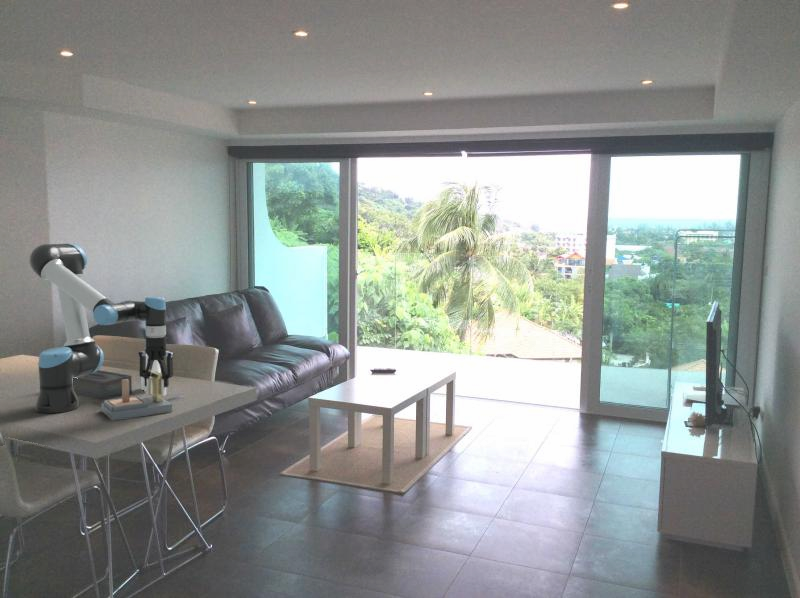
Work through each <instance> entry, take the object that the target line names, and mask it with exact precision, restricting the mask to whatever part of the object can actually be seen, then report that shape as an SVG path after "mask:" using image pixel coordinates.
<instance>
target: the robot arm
mask: <svg viewBox="0 0 800 598" xmlns="http://www.w3.org/2000/svg"><path fill="white" fill-rule="evenodd" d="M29 264H30V268H31V270H33V272H34V273H35V274H36V275H37V276H38V277H39V278H41V279H42V280H44V281H49V282H51V283H52V284H54V285H55V286H56V287H57V290H58V291H57V293H58V298H59V303H60V308H61V314H62V319H63V325H64V329H65V330H64V331H65V337H66V342H65V343H64V344H63V346H57V347H52V348H48V349H45V350H43V351H42V352H40V354H39V355H38V362H37V365H38V378H39V380H38V381H39V393H38V396H37V399H36V402H35V411H36V412H37V413H39V414H40V413H41V414H58V413H65V412H69V411H70V412H71V411H74V410H77V409H78V408H79V405H80V403H79V398H78V396H77V393H76V391H75V389H74V388H73V378H79V377H82V376H87V375H88V376H89V375H91V374H94V373H96V372H97V371H99V370H100V369H101V367H102V366H103V364H104V360H105V355H104V351H103V350H102V348H101V347H100V346H99V345H97V344H96V341H95V339H93V338H92V337H91V334H90V330H89V324H88V318H87V317H88V316H87V313H86V309H87V310H88V311H89V312H91V313H92V315H93V319H94V321H95V322H96V324H98V325H100V326H110V325H111V326H112V325H115V324H121V323H126V322H132V321H144V323H145V336H146V337H145V350H142V351H139V352H138V356H139V377H140V378H141V377H144V379H145V386H147V394H146V396H151V394H152V378H149V377H151V376H150V374H151V370H152V366H153V362H154V360H158V363H159V365H160V368H161V373H162V375H163V378H162V380H161V388H162V396H163V397H165V396H166V395H167V392H168V391H167V387H168V388H169V384H170V383H169V379H171V378H172V377H174V360H173V358H174V355H175V354H174V352H173V351H172V352H171V351H169V350H168V349H167V337H166V335H167V326H166V325H167V324H166V322H167V321H166V314H167V307H166V299H165V297H163V296H147V297H145V298H144V301H137V300H129V299H128V300H122V301H120V302H118V303H114V302H113V301H111V300H110V299H108V298H107V297H106V296H105V295H103V294H102V293H101V292H99V291H98V290H97V289H95V288H94V287H92V285H90V284H88V282H86V281H84V280H83V279H82V277H83V276H84V272H83V270H86V269H85V268H86V266H87V265H88V257H87V255H86V252H85V250H84V249H83V248H81V247H80V245H77V244H74V243H73V244H72V243H46V244H45V243H44V244H40V245H38V246H36V247H35V248H34V249H33V250H32V252H31V253H30V256H29ZM146 354H147V355H148V361H147V362H148V363H147V367H146ZM165 357H166V358H165Z"/></svg>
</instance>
